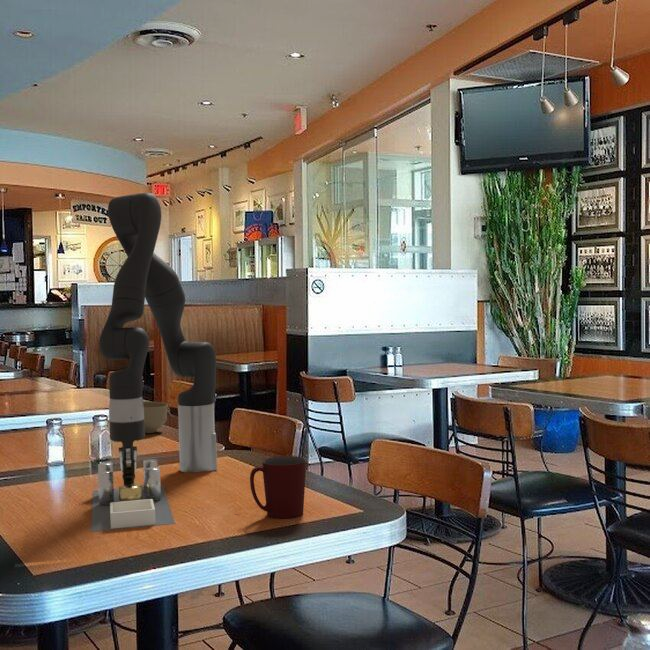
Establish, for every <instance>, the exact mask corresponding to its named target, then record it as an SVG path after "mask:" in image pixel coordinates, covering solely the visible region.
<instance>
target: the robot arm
mask: <svg viewBox="0 0 650 650" xmlns="http://www.w3.org/2000/svg"><path fill="white" fill-rule="evenodd" d="M107 215H108V220H109V224H110V225H111V228H112V230H113V233H114V234H115V236H116V238H117V240H118V241H119V243H120V245H121V248H122V249H123V251H124V252H125V254H126V257H127V258H126V259H125V261H124V262H123V264H122V265H121V267H120V268H119V271H118V273H117V275H116V277H115V280H114V283H113V291H112V297H111V298H112V299H111V306H110V307H111V308H110V310H109V314H108V315H107V319H106V321H105V324H104V326H103V328H102V331H101V333H100V335H99V336H100V337H99V341H98V348H99V349H98V350H99V352H100V354H101V356H102V357H103V358H104V359H106V360H111V361H112V360H113V361H114V360H116V361H118V360H120V361H121V360H126V361H127V360H130V362H129V364H128V367H127V368H125V369H119V370H115V371H113V372H111V373H110V375H109V379H108V386H109V389H108V390H109V391H108V393H109V404H108V423H109V424H108V425H109V426H108V427H109V428H108V429H109V439H110V440H111V442H116V443H121V444H122V445H121V446H120V447H118V458H119V464H120V465H119V466H120V471H121V473H122V475H121V477H122V480H123V485H127V484H135V478H136V474H135V470H136V469H137V457H138V448H137V446H136V445H135V446H134V442H136V441H137V442H138V441H141V440H143V439H145V436H146V433H145V426H144V405H143V400H144V399H143V382H142V381H143V373H144V367H145V363H146V358H147V355H148V352H149V348H150V347H149V346H150V338H149V335H148V333H147V331H146V330H145V329H143V328H142V327H138V326H137V327H136V326H135V327H124V326H125V325H126V324H128V323H131V322H133V321H136V320H139V319H141V318H142V317H143V315H144V309H145V301H146V302H147V305H148V307H149V310H150V311H151V313H152V316H153V318H154V321H155V323H156V326H157V329H158V332H159V335H160V337H161V340H162V343H163V346H164V350H165V354H166V356H167V360H168V363H169V366H170V368H171V370H172V372H173V373H174V374H175V376H177V377H181V378H193V384H192V385H191V387H190V388H188V389H186V390H184V391H181V392H179V393H178V395H177V411H178V412H177V414H178V415H177V416H178V417H177V418H178V420H177V421H178V450H179V451H178V453H179V471H180V472H181V473H200V472H210V471H211V472H212V471H218V463H217V462H218V457H217V433H216V431H215V429H216V428H215V394H216V389H217V388H216V387H217V385H216V384H217V383H216V382H217V380H216V379H217V355H216V354H217V353H216V351H215V348H214V345H212V344H211V343H210V342H207V341H187V340H186V337H185V336H184V334H183V331H182V328H181V327H182V326H181V320H182V317H183V315H184V314H183V313H184V311H185V305H186V295H185V291H184V289H183V287H182V284H181V282H180V278H179V276H178V274H177V272H175V270H174V269H173V267H172V266H170V265H169V264H168V263H167V262H166V261H165V260H164V259H162V258H161V257H160V256H158V255H157V254H156V253H155V248H156V244H157V240H158V238H159V232H160V227H161V223H162V208H161V205H160V202H159V200H158V198H157V197H156V196H155V195H154V194H153V193H152V192H151V193H150V192H140V193H134V194H128V195H120V196H115V197H113V198H112V199H110V200H109V202H108V206H107Z"/></svg>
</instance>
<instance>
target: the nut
mask: <svg viewBox="0 0 650 650" xmlns="http://www.w3.org/2000/svg"><path fill="white" fill-rule="evenodd" d="M142 487H143V485H142V484H138V483H134V484H127V485H124V484H122V485H120V486H118V488H119V502H122V501H134V500H142Z"/></svg>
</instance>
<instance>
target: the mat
mask: <svg viewBox="0 0 650 650" xmlns="http://www.w3.org/2000/svg"><path fill="white" fill-rule="evenodd" d="M142 500H146V492H144V485H142ZM114 502H119V487H118V488H114ZM153 503H154V507H155V525H144V526H134V527H123V528H112V529H111V519H110V506H99V493H98V489H96V490H92V503H91V516H90V517H91V520H90V532H91V533H93V532H103V531H104V532H105V531H114V530H126V529H135V528H144V527H147V528H148V527H157V526H167V525H169V526H170V525H175V524H176V522H175V519H174V516H173V513H172V510H171V506H170V503H169V500H168V497H167V493H166V490H165V487H164V484H161V500H160V501H158V502H153Z"/></svg>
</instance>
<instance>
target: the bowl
mask: <svg viewBox="0 0 650 650" xmlns="http://www.w3.org/2000/svg"><path fill="white" fill-rule="evenodd" d="M143 405H144V426H145V434H153V433H156V432H157V430H159V429H160V428H161V427H163V426H164V424H166V422H167V417H168V407H169V404H168V403H165V402H159V401H143Z"/></svg>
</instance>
